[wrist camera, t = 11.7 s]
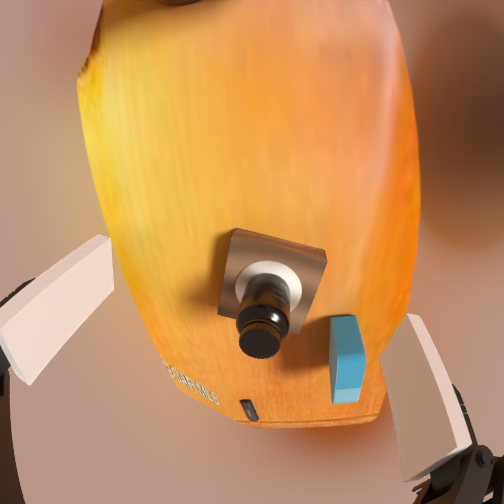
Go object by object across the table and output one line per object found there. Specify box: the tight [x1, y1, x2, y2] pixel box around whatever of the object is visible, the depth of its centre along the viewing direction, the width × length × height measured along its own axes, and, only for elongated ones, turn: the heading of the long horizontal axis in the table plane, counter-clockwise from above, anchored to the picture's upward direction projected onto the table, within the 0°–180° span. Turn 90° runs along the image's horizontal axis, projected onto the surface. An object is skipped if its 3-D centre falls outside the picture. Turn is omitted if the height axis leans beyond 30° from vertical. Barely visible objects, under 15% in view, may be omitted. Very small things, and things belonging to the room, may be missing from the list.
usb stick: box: [241, 400, 259, 421], centre depth 60 cm, size 10×3×2 cm, turn 14°
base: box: [217, 228, 327, 335], centre depth 43 cm, size 14×14×4 cm
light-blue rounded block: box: [329, 315, 366, 404], centre depth 42 cm, size 12×4×12 cm, turn 8°
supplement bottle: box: [236, 273, 290, 359], centre depth 35 cm, size 7×7×12 cm
